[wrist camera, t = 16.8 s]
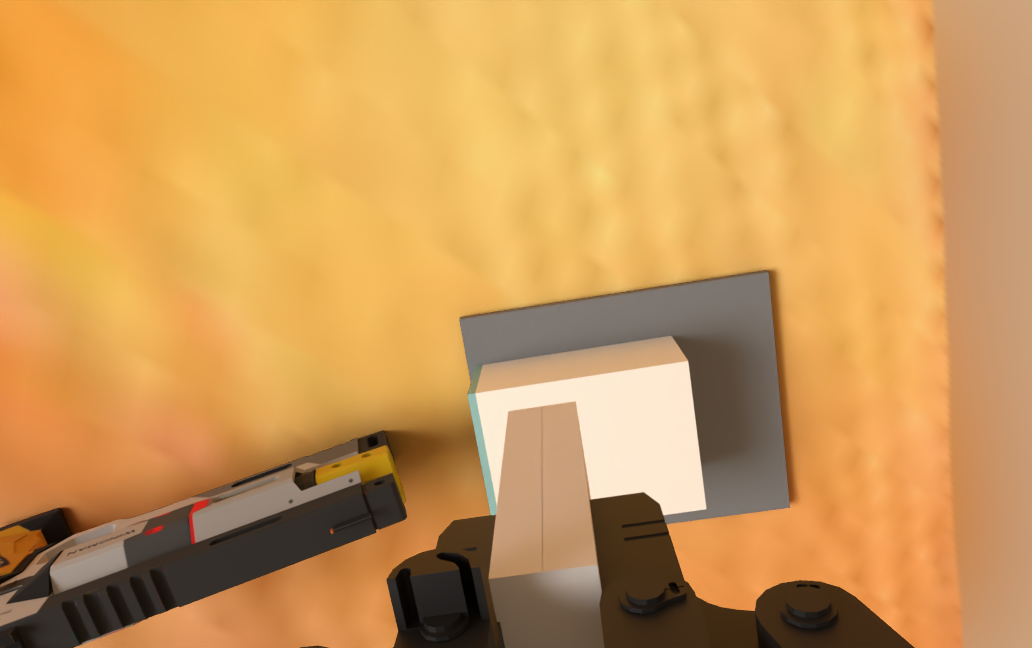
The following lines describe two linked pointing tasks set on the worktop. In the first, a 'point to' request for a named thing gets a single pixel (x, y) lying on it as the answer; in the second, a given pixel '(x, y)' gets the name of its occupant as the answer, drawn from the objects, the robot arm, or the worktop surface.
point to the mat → (712, 365)
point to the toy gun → (189, 545)
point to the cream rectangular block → (603, 417)
